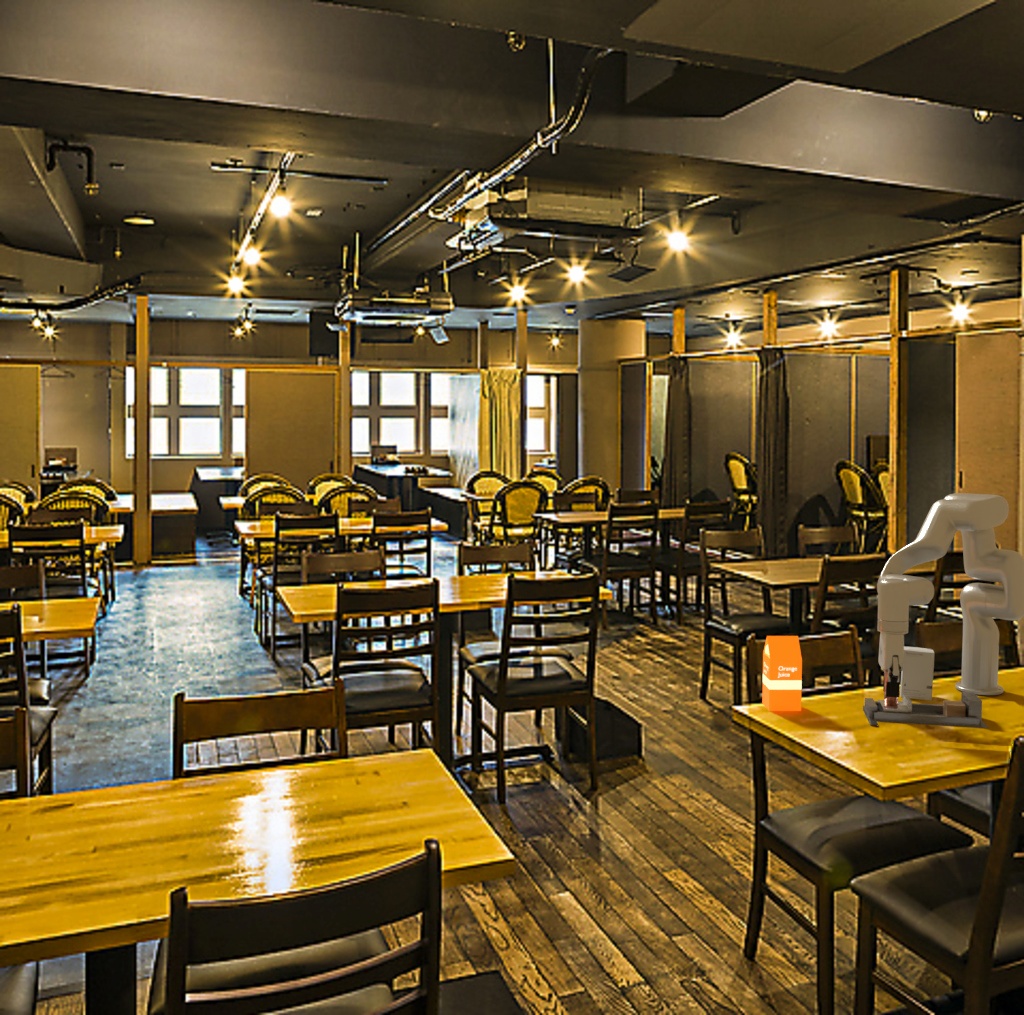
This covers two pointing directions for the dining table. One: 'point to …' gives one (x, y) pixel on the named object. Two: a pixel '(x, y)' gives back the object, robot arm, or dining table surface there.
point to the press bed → (929, 713)
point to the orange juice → (782, 674)
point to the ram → (894, 702)
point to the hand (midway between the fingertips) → (891, 693)
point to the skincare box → (917, 673)
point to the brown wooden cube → (953, 708)
